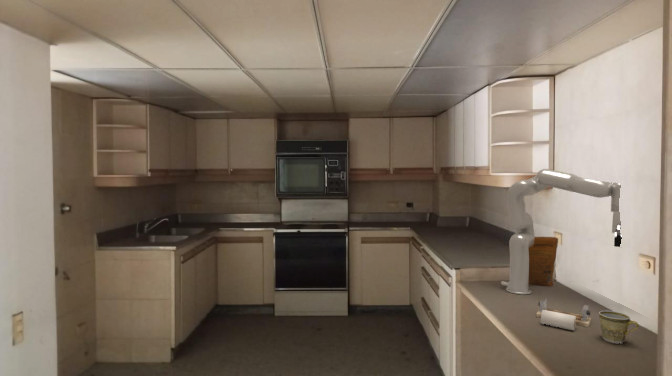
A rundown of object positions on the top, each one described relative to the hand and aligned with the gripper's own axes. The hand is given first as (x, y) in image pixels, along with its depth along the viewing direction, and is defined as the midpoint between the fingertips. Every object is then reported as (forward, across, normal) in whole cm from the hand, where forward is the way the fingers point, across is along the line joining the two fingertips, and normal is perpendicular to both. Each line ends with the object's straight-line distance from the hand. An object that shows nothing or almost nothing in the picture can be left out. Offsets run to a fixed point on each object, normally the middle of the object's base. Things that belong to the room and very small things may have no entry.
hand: (618, 245), depth 200 cm
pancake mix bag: (+31, -25, -39) cm, 55 cm away
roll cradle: (+31, +31, -18) cm, 47 cm away
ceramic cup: (+31, +46, +3) cm, 55 cm away
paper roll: (+31, +43, -18) cm, 55 cm away
